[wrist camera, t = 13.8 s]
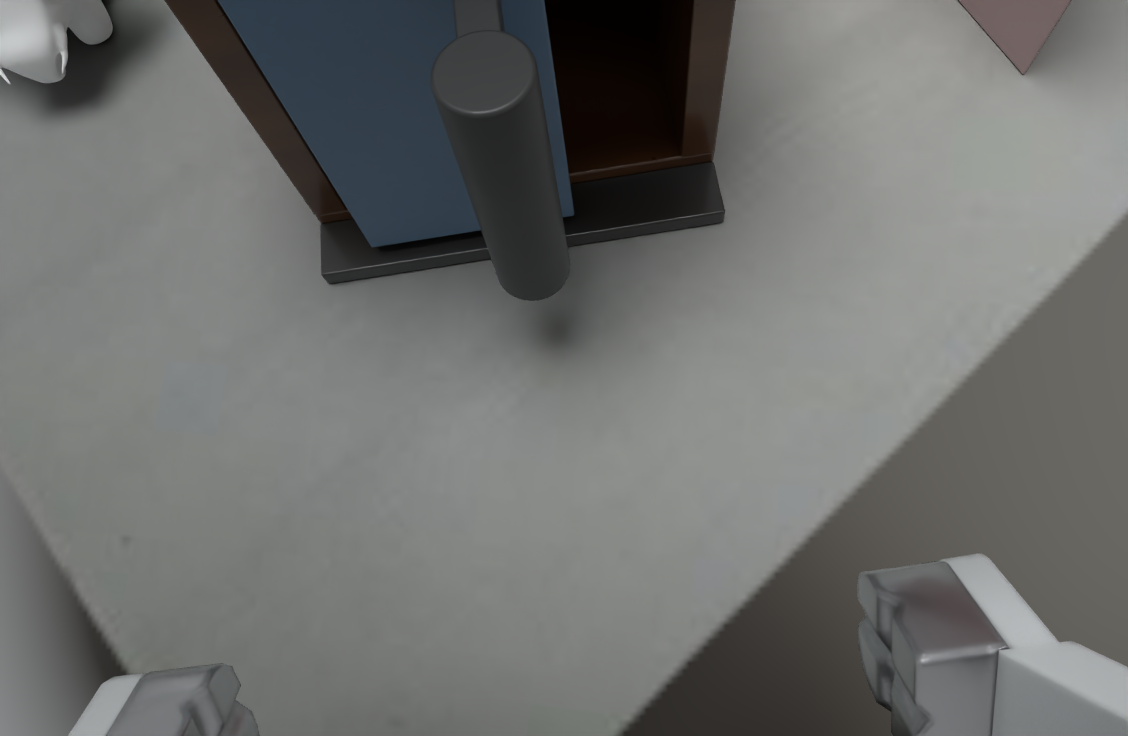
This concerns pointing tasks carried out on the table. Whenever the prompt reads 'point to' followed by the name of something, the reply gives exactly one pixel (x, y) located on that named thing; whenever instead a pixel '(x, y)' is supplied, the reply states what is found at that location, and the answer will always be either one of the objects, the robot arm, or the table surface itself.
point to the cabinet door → (429, 120)
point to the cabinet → (588, 114)
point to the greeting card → (1018, 25)
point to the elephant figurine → (47, 34)
